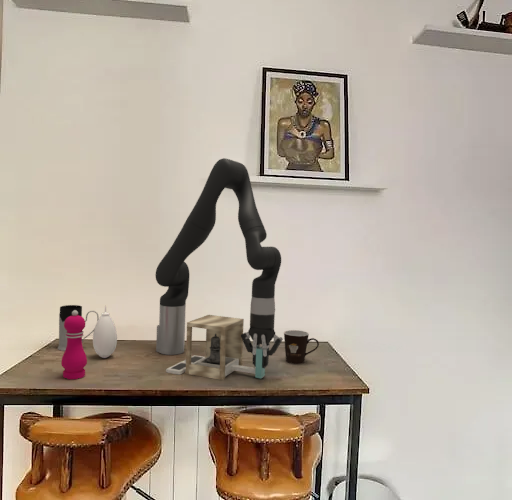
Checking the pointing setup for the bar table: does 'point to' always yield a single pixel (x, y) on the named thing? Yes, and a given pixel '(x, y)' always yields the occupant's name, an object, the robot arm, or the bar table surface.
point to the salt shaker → (214, 351)
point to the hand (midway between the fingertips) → (260, 366)
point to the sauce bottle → (105, 336)
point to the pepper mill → (74, 348)
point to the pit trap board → (183, 365)
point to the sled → (233, 365)
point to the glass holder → (64, 313)
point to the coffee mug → (296, 346)
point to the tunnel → (229, 343)
